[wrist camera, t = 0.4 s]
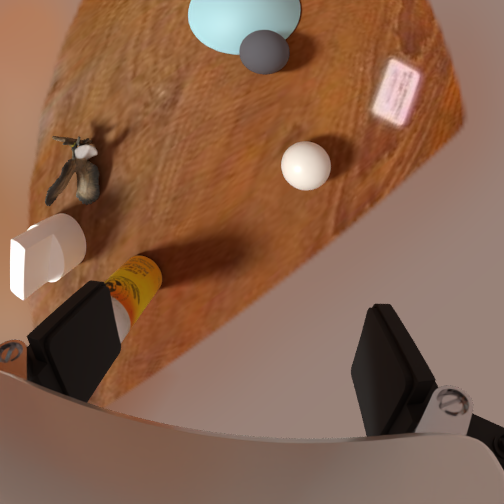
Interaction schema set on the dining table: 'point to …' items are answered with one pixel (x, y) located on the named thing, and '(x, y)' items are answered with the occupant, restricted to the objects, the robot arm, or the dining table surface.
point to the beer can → (132, 290)
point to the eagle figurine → (77, 172)
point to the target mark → (240, 20)
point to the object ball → (264, 52)
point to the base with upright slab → (45, 253)
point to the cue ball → (306, 165)
